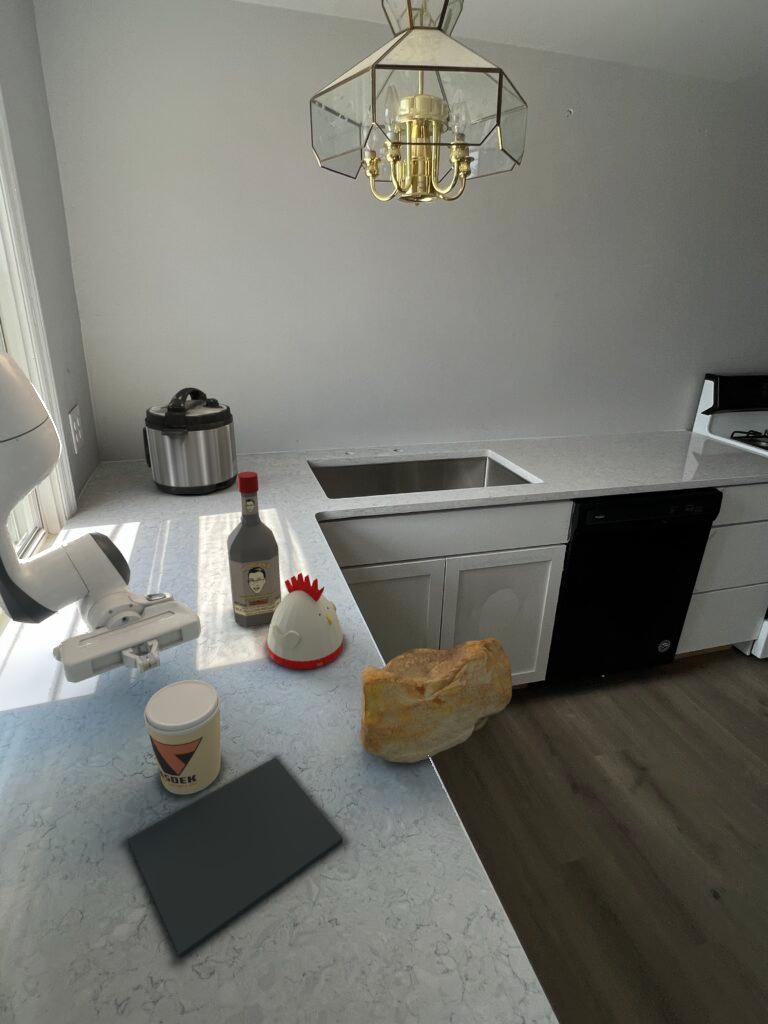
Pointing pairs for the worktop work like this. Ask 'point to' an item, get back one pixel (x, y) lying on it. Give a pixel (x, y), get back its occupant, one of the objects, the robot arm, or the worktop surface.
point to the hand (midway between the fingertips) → (150, 665)
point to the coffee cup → (185, 735)
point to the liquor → (253, 561)
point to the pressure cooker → (190, 444)
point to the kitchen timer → (304, 627)
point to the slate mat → (230, 851)
